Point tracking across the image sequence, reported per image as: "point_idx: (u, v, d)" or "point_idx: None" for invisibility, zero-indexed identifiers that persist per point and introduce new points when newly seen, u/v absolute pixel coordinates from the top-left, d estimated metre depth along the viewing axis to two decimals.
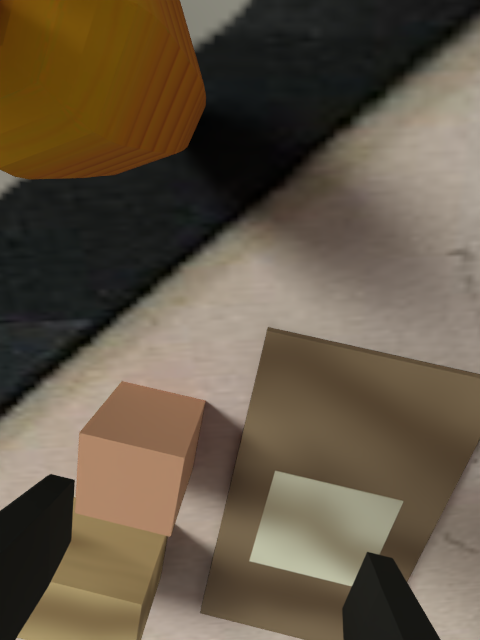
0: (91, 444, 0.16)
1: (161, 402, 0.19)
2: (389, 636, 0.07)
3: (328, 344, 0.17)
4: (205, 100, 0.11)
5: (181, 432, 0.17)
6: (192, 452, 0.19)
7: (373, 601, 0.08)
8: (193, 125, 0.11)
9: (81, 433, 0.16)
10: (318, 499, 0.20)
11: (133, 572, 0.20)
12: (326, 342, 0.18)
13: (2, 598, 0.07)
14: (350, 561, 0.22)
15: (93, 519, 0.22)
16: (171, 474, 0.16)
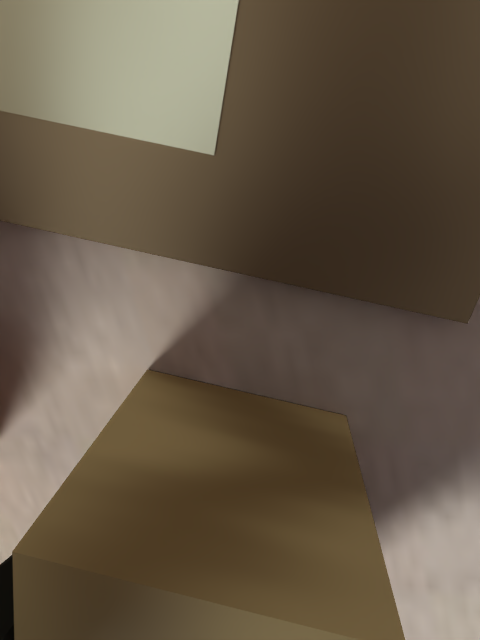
0: None
1: None
2: None
3: None
4: None
5: None
6: None
7: None
8: None
9: None
10: None
11: None
12: None
13: None
14: None
15: None
16: None
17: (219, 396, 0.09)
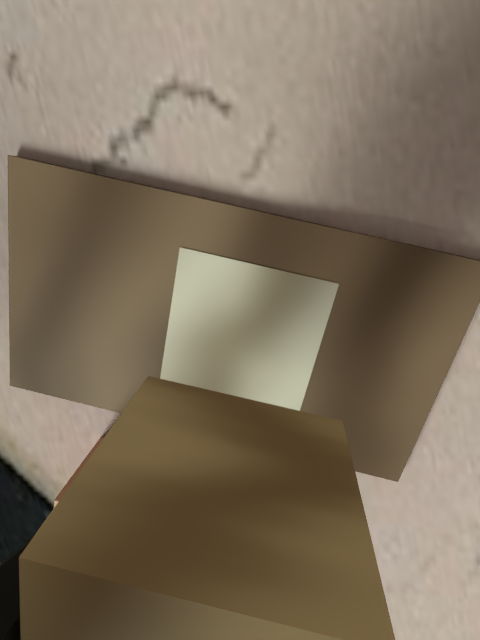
0: None
1: None
2: None
3: (10, 334, 0.18)
4: None
5: None
6: None
7: None
8: None
9: None
10: (190, 342, 0.17)
11: None
12: (11, 334, 0.19)
13: None
14: (287, 303, 0.16)
15: None
16: None
17: (218, 402, 0.09)
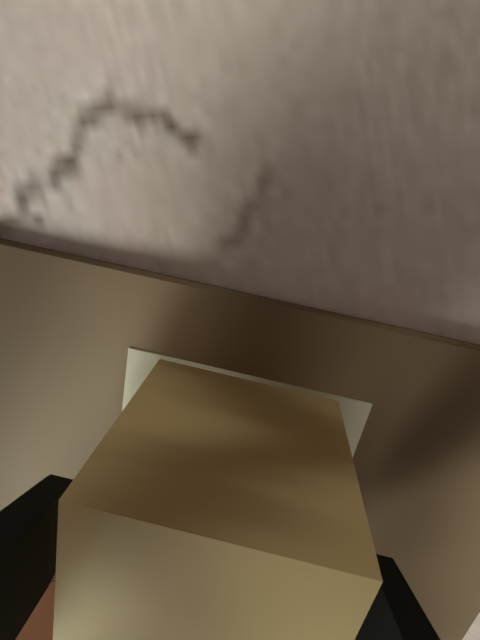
0: None
1: None
2: (389, 636, 0.07)
3: None
4: None
5: None
6: None
7: (373, 601, 0.08)
8: None
9: None
10: None
11: None
12: None
13: (2, 598, 0.07)
14: None
15: None
16: None
17: (224, 382, 0.10)
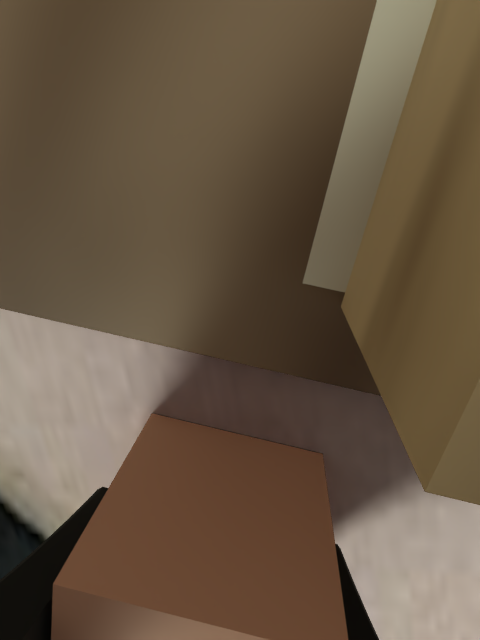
0: None
1: None
2: None
3: None
4: None
5: None
6: (211, 482, 0.08)
7: None
8: None
9: None
10: None
11: None
12: None
13: None
14: None
15: (405, 159, 0.06)
16: (115, 619, 0.06)
17: None
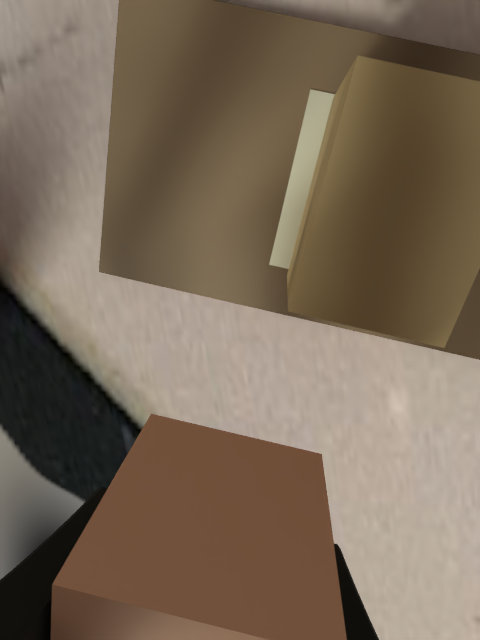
0: None
1: None
2: None
3: (104, 209, 0.17)
4: None
5: None
6: (210, 483, 0.08)
7: None
8: None
9: None
10: None
11: (339, 107, 0.11)
12: (105, 210, 0.17)
13: None
14: None
15: (304, 214, 0.15)
16: (115, 619, 0.06)
17: None
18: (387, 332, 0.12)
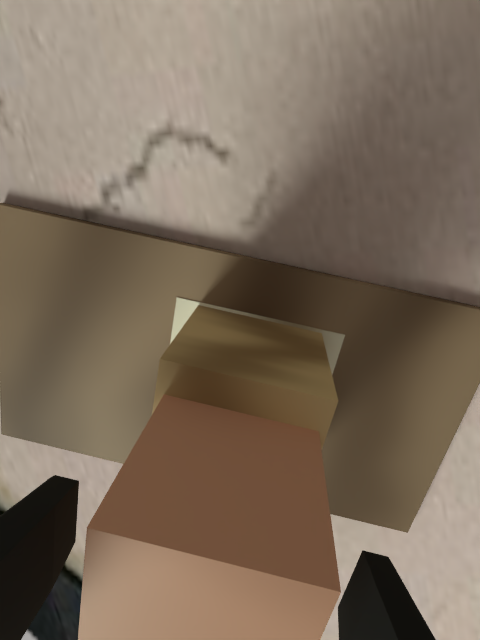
0: None
1: None
2: (383, 635, 0.07)
3: (0, 383, 0.18)
4: None
5: None
6: (219, 452, 0.09)
7: (368, 600, 0.08)
8: None
9: None
10: None
11: None
12: (2, 383, 0.18)
13: (7, 599, 0.07)
14: None
15: None
16: (140, 558, 0.07)
17: (244, 319, 0.15)
18: None
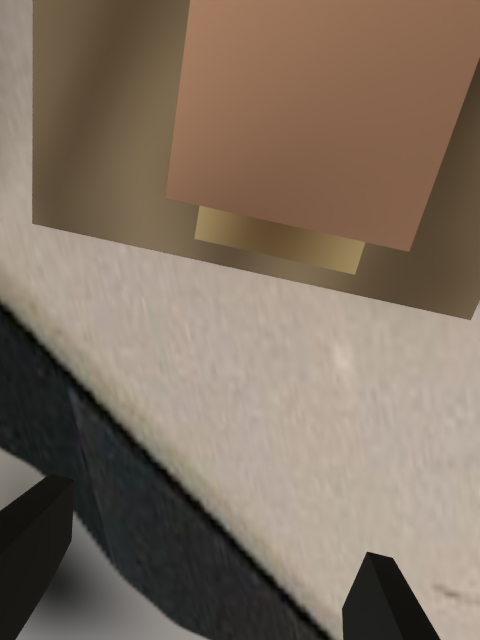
0: (193, 170, 0.07)
1: None
2: (389, 636, 0.07)
3: (33, 156, 0.16)
4: None
5: None
6: None
7: (373, 601, 0.08)
8: None
9: (166, 192, 0.07)
10: None
11: None
12: (34, 158, 0.17)
13: (2, 598, 0.07)
14: None
15: None
16: None
17: None
18: (295, 259, 0.12)
